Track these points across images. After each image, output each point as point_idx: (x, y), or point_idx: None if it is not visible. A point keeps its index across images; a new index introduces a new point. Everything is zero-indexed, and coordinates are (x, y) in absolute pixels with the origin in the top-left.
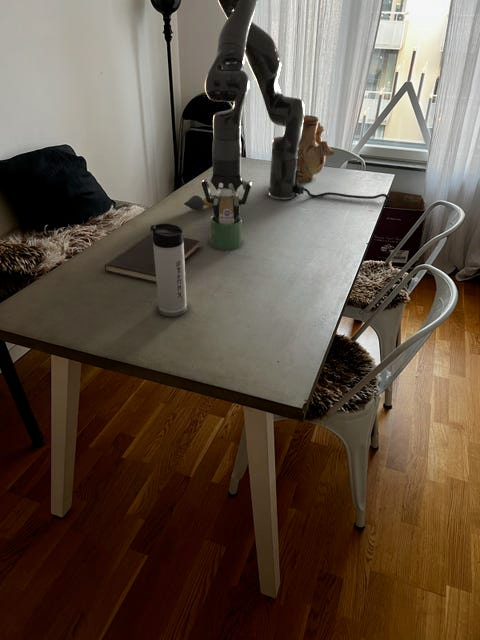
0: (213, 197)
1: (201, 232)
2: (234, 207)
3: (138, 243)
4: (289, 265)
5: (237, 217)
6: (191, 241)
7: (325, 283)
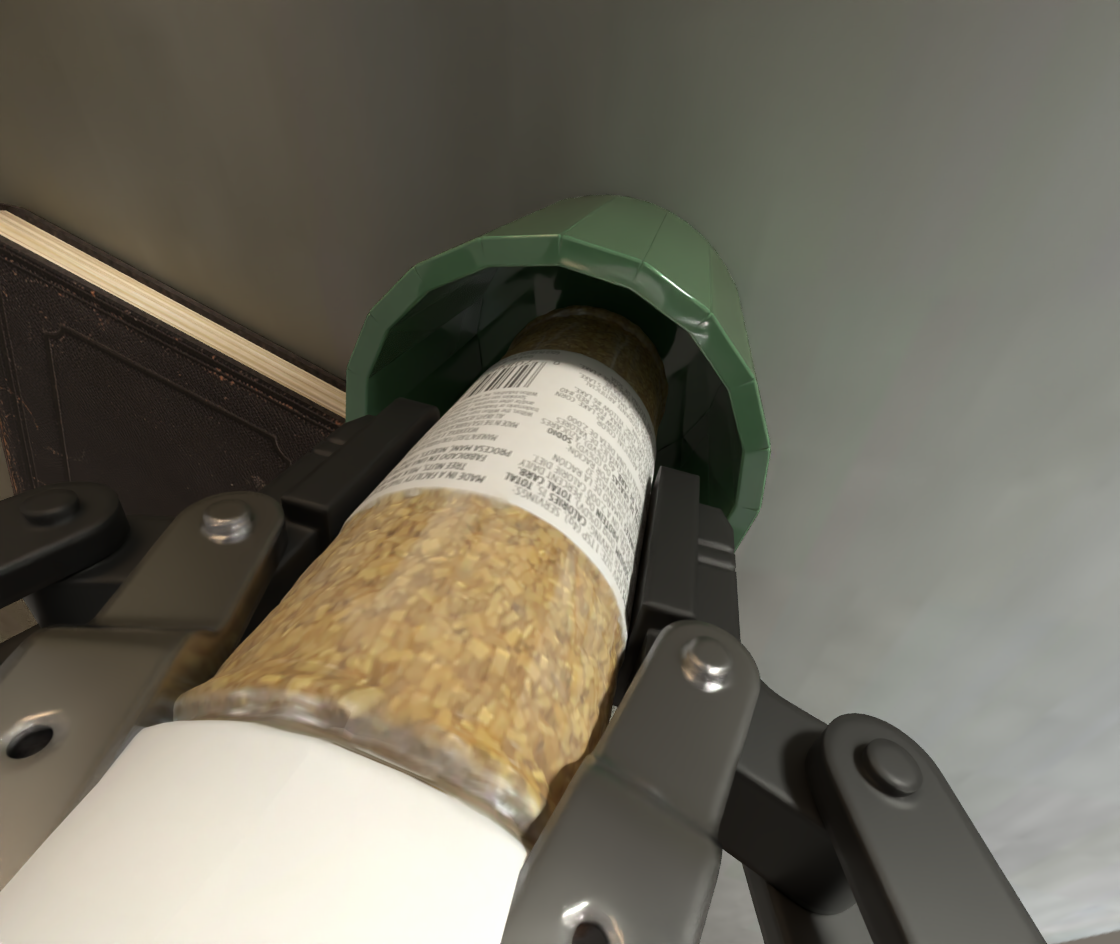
0: (117, 587)
1: (349, 28)
2: (617, 692)
3: (14, 428)
4: (984, 716)
5: (725, 381)
6: (313, 445)
7: (1071, 873)
